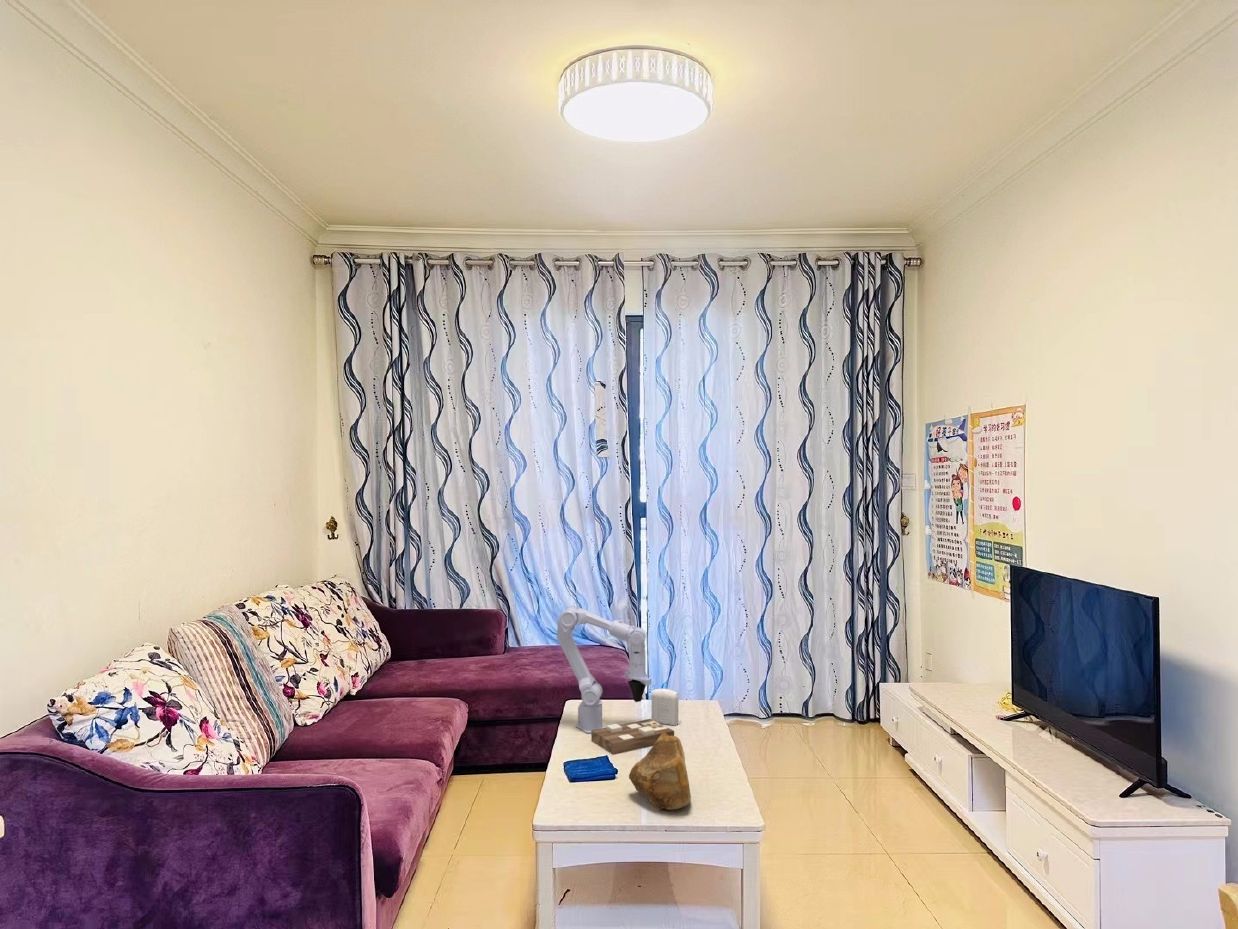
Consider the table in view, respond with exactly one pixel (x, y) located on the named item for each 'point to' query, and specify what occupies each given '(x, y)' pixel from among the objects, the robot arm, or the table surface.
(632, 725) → the button
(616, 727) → the button
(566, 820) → the table surface
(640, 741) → the button board
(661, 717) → the photo printer
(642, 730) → the button
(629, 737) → the button
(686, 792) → the rough brown rock
